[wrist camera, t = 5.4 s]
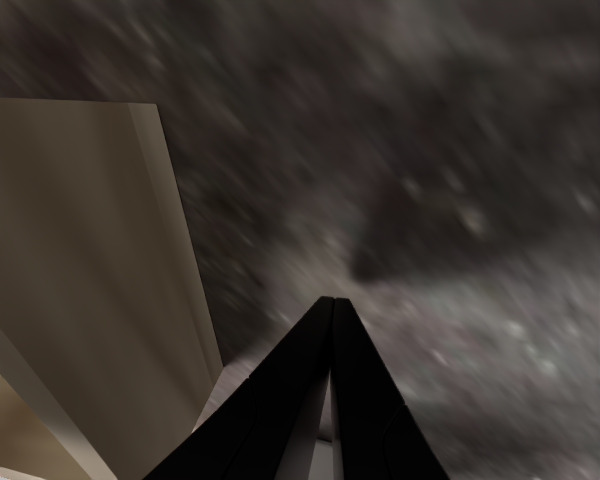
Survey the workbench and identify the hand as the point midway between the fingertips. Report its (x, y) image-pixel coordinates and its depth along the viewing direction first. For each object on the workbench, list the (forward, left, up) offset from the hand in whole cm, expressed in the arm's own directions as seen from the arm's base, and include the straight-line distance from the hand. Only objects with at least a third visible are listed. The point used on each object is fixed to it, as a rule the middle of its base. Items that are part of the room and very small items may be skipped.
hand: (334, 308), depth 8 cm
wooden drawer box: (+11, 0, -1) cm, 11 cm away
